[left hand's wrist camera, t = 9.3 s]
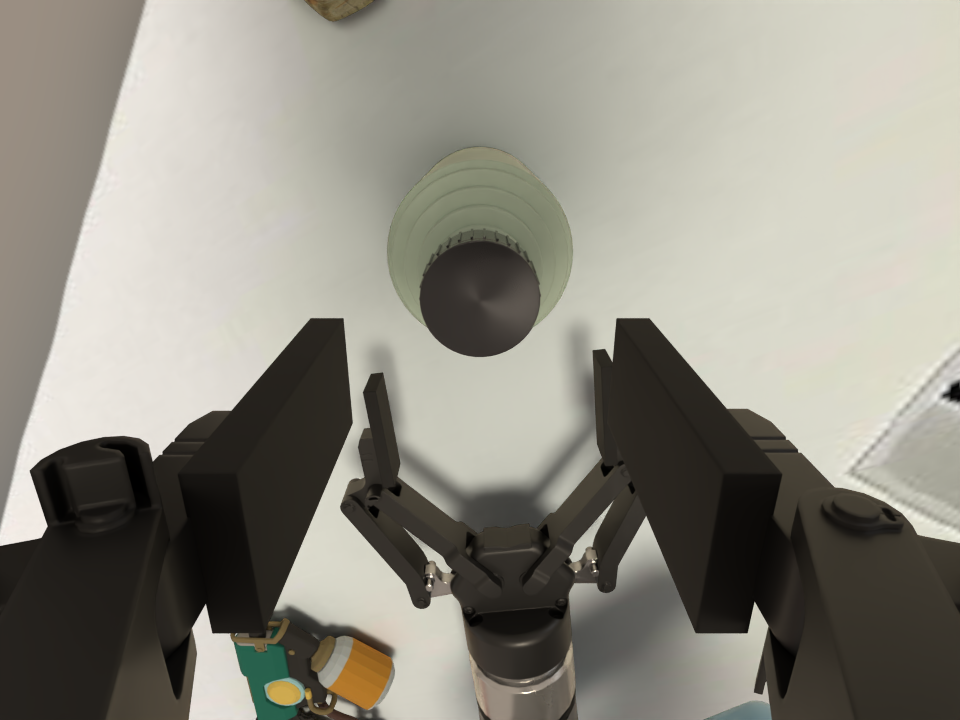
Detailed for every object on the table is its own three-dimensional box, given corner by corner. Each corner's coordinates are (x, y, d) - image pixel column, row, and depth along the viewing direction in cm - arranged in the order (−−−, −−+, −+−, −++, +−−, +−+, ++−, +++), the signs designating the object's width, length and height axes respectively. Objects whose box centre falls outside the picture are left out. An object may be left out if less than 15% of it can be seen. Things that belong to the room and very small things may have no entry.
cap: (403, 258, 21) (395, 272, 19) (507, 207, 21) (510, 216, 19) (454, 355, 23) (452, 377, 21) (554, 310, 22) (561, 328, 20)
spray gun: (381, 751, 57) (226, 716, 56) (421, 634, 50) (245, 591, 49) (371, 799, 54) (205, 763, 53) (413, 679, 47) (223, 634, 46)
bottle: (392, 183, 37) (313, 241, 19) (511, 122, 36) (542, 124, 18) (451, 297, 40) (428, 439, 22) (563, 244, 39) (635, 350, 21)
